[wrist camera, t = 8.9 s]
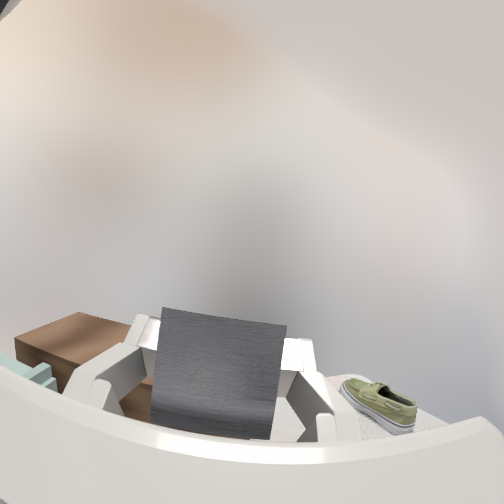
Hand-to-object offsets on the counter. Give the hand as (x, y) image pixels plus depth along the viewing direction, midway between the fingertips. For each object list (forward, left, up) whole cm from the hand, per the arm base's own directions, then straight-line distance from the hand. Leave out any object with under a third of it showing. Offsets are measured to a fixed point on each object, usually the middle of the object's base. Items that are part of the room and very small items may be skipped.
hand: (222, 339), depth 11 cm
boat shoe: (+41, +50, -34) cm, 73 cm away
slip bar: (0, +7, -5) cm, 9 cm away
